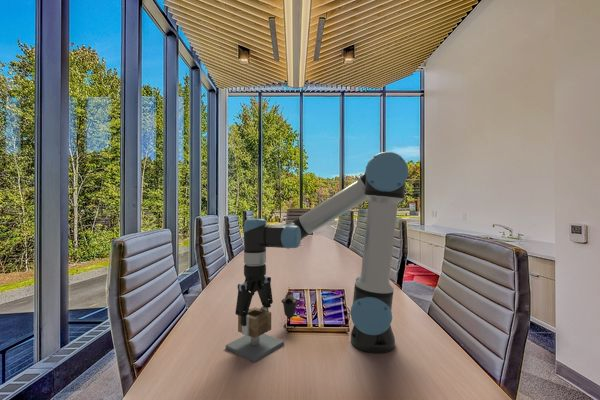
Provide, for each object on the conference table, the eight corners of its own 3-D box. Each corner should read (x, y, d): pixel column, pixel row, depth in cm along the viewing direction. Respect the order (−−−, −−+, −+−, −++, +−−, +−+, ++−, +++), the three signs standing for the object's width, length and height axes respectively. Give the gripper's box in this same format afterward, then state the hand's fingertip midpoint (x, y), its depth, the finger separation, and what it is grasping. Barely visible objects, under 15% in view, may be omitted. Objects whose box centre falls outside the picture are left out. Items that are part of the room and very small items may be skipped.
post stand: (283, 344, 103) (283, 318, 103) (254, 362, 92) (254, 332, 92) (255, 333, 111) (255, 309, 111) (225, 348, 100) (225, 321, 100)
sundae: (290, 321, 123) (290, 285, 123) (301, 326, 118) (301, 288, 118) (277, 325, 118) (277, 288, 118) (289, 331, 113) (289, 292, 113)
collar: (271, 329, 102) (271, 312, 102) (254, 338, 96) (254, 319, 96) (255, 323, 107) (255, 307, 107) (238, 331, 101) (238, 313, 101)
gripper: (267, 257, 112) (268, 317, 112) (223, 267, 96) (223, 338, 96) (283, 260, 108) (283, 322, 108) (238, 271, 91) (239, 345, 91)
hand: (255, 329), depth 102 cm, fingers closed on collar, 8 cm apart
